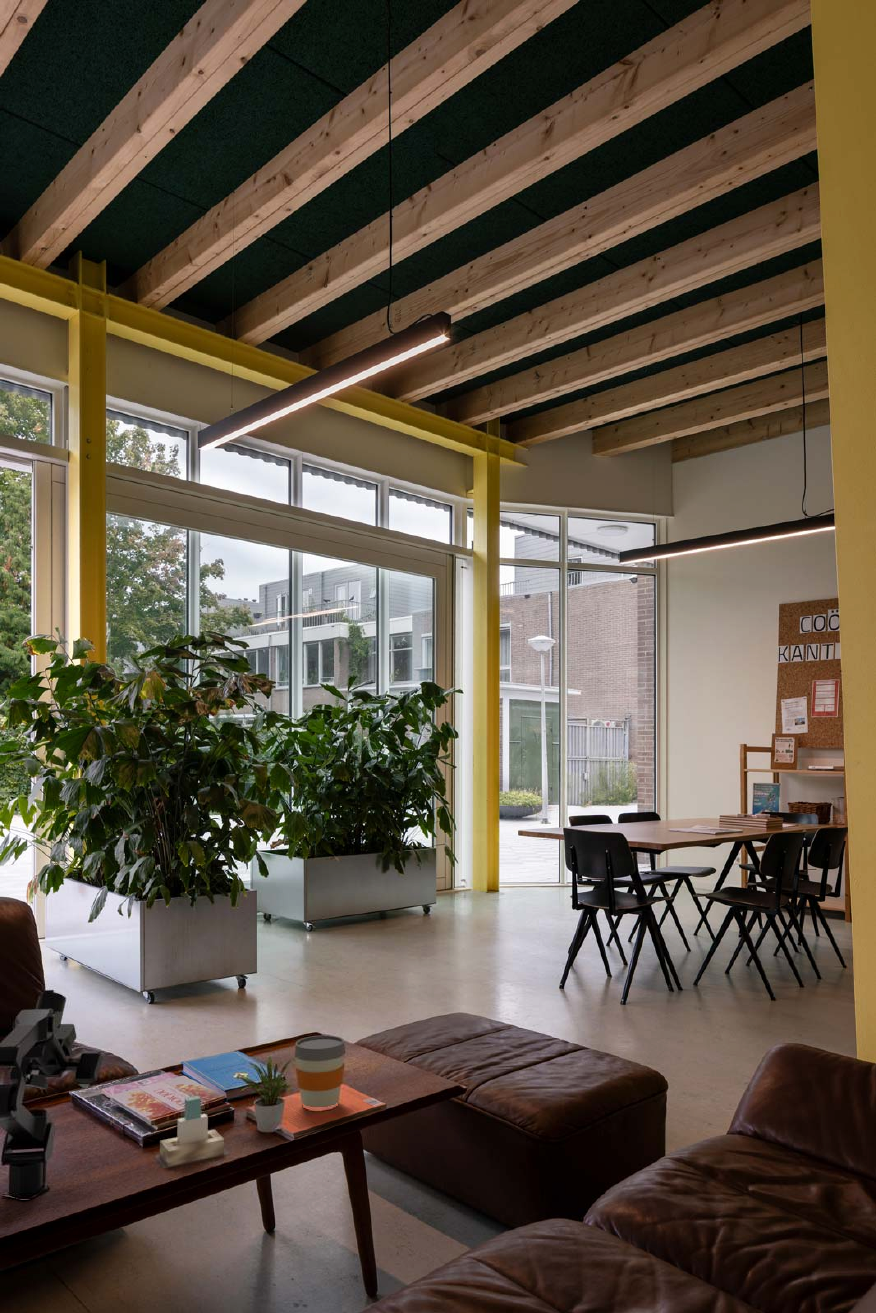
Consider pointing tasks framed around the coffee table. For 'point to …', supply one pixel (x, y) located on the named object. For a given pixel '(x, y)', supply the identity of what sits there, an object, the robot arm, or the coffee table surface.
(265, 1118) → the house plant
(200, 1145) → the slot rack
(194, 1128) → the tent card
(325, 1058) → the reusable coffee cup
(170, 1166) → the mat
